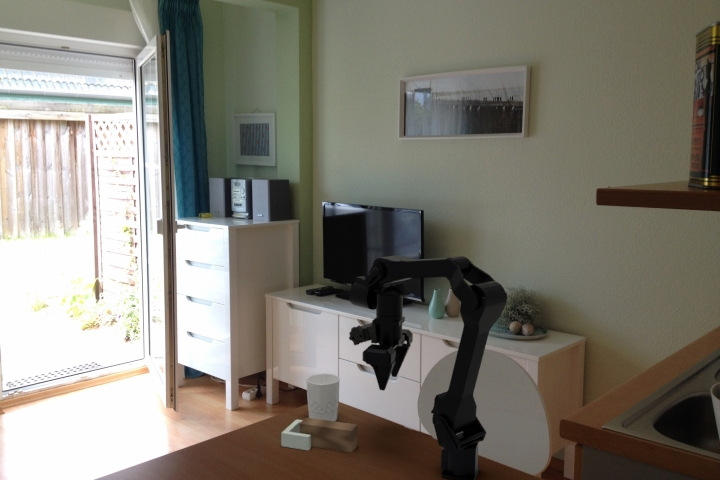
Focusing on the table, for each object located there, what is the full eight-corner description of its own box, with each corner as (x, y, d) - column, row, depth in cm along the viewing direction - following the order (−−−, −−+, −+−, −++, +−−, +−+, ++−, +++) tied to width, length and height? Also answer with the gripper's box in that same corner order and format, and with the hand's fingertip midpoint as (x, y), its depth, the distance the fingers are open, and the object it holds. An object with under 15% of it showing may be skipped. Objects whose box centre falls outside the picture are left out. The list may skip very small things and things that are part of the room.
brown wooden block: (356, 446, 141) (357, 424, 140) (351, 453, 137) (351, 430, 137) (306, 438, 145) (306, 417, 144) (299, 445, 141) (299, 423, 141)
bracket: (322, 435, 146) (322, 423, 145) (308, 450, 138) (308, 437, 138) (296, 431, 148) (296, 419, 147) (281, 446, 140) (281, 432, 140)
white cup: (335, 426, 151) (335, 385, 149) (302, 424, 152) (302, 383, 151) (342, 414, 158) (342, 374, 157) (311, 411, 160) (311, 372, 159)
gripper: (367, 302, 152) (367, 366, 154) (339, 320, 134) (339, 392, 136) (413, 305, 148) (412, 371, 150) (390, 324, 131) (389, 399, 133)
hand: (388, 383), depth 142 cm, fingers open, 9 cm apart
